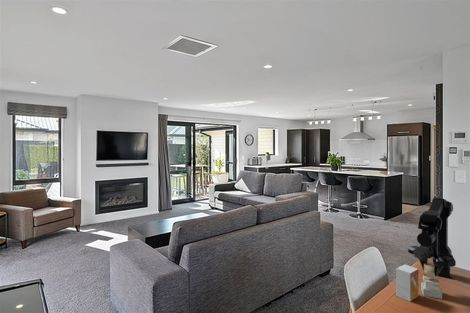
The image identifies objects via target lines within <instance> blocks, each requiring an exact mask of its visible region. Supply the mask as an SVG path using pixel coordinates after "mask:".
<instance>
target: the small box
mask: <svg viewBox="0 0 470 313" xmlns="http://www.w3.org/2000/svg"><path fill="white" fill-rule="evenodd" d="M395 272H396V273H395V274H396V275H395V277H396V278H395V285H396V286H395V288H396V289H395V293H396V294H395V295H396V297H398V298H400V299H402V300H405V301H408V302H412V301H413V300H415V299H417V298H418V297H419V268H416V267H414V266H411V265H408V264H405V263H404V264H403V265H400V266H399V267H396V270H395Z"/></svg>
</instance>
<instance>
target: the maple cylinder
mask: <svg viewBox="0 0 470 313" xmlns="http://www.w3.org/2000/svg"><path fill="white" fill-rule="evenodd" d="M423 276H426V277H429V278H437V279H438V276H435V265H434V264H433V263H431V262H427V263H424V270H423Z"/></svg>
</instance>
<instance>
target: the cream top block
mask: <svg viewBox="0 0 470 313" xmlns="http://www.w3.org/2000/svg"><path fill="white" fill-rule="evenodd" d="M422 282H423V284H424V286H425V288H426V289H432V290H438V291H440V289H441V282H440V281H439V279H438V277H437V278H429V277H426V276H425V275H423V276H422Z"/></svg>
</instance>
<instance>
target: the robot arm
mask: <svg viewBox="0 0 470 313" xmlns="http://www.w3.org/2000/svg"><path fill="white" fill-rule="evenodd" d="M428 208H429V209H428V210H425V211H423V212H422V213H421V215H420V216H419V221H418V226H417V229H420V230H421V232H419V233H418V234H417V237H416V241H417V242H418V243H419V246H418V245H411V246H409V247H407V253H409V254H410V255H413V256H414V258H417V260H418V261H419V263H420V266H421V267H422V270H423V271H424V263H429V262H428V260H429V259H432V264H434V265H435V276H437V277H443V278H449V279H453V275H452V274H451V267H456V266H457V263H456V260H455V257H454V255H453V254H452V249H451V248H450V247H449V245H448V244H449V233H448V232H449V226H448V225H449V217H450V216H451V215H452V213H453V211H454V203H452V202H451V201H449V200H446V199H445V198H441V197H433V198H432V200H431V204H430V206H429V207H428Z"/></svg>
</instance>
